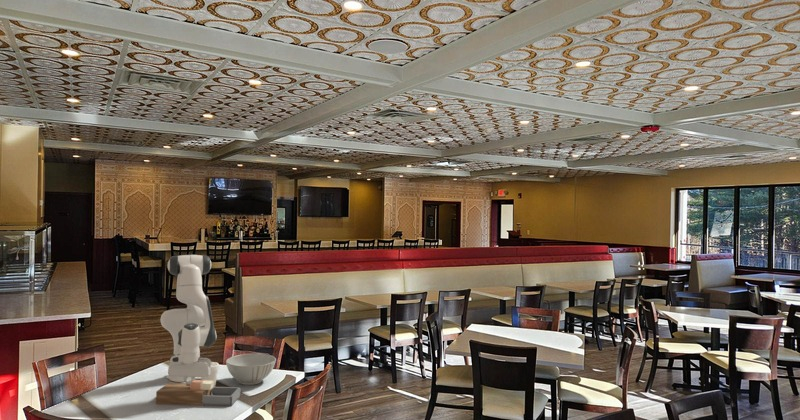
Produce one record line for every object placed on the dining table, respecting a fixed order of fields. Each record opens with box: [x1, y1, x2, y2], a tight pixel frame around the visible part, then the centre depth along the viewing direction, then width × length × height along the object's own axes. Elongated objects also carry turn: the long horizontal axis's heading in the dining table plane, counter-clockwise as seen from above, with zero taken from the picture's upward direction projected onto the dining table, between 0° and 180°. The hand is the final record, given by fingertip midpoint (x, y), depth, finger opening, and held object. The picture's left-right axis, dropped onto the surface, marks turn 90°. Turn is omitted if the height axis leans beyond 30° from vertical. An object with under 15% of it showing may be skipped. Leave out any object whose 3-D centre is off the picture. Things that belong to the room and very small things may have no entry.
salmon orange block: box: [190, 379, 204, 390], centre depth 263 cm, size 5×5×3 cm
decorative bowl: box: [225, 353, 277, 386], centre depth 294 cm, size 27×27×12 cm
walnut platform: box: [155, 382, 212, 406], centre depth 263 cm, size 14×22×6 cm, turn 90°
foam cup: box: [200, 361, 220, 387], centre depth 279 cm, size 10×9×13 cm
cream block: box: [200, 380, 214, 390], centre depth 263 cm, size 5×5×3 cm
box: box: [202, 386, 241, 407], centre depth 263 cm, size 14×14×4 cm
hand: (189, 385), depth 263 cm, fingers closed
